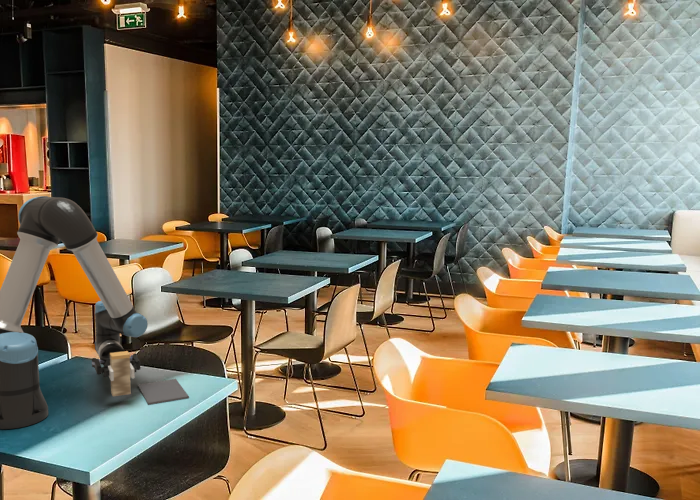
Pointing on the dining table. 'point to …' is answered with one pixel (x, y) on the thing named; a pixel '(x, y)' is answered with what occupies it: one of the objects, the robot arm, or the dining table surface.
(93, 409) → the dining table surface
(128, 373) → the maple block
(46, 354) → the dining table surface
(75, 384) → the dining table surface
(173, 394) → the rubber mat
